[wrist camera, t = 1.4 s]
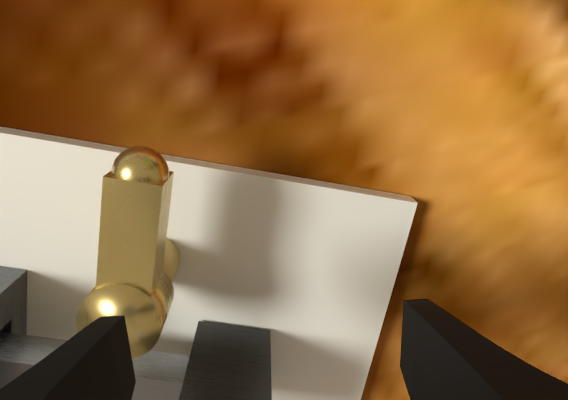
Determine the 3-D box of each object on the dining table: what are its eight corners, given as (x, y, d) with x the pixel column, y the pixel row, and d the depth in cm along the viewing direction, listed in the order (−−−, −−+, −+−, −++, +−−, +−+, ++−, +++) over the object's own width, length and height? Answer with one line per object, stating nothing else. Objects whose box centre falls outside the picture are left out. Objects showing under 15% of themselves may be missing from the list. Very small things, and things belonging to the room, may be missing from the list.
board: (410, 196, 20) (441, 226, 17) (335, 460, 25) (347, 528, 22) (-97, 110, 18) (-185, 123, 15) (-75, 416, 23) (-138, 482, 20)
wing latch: (192, 147, 15) (181, 162, 13) (169, 327, 18) (157, 364, 15) (109, 133, 15) (84, 146, 13) (97, 317, 17) (74, 354, 15)
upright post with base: (270, 330, 21) (272, 428, 15) (258, 388, 22) (256, 500, 16) (-90, 281, 19) (-230, 371, 14) (-85, 346, 20) (-214, 453, 15)
